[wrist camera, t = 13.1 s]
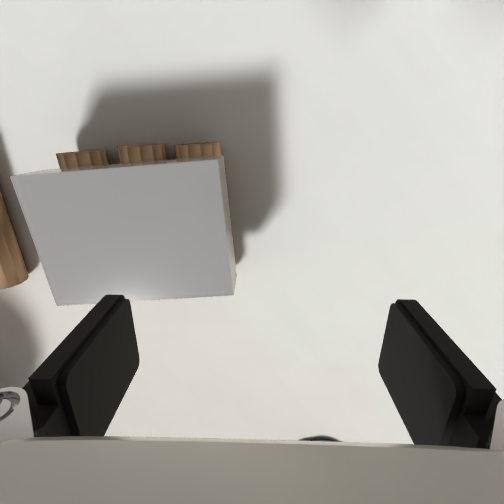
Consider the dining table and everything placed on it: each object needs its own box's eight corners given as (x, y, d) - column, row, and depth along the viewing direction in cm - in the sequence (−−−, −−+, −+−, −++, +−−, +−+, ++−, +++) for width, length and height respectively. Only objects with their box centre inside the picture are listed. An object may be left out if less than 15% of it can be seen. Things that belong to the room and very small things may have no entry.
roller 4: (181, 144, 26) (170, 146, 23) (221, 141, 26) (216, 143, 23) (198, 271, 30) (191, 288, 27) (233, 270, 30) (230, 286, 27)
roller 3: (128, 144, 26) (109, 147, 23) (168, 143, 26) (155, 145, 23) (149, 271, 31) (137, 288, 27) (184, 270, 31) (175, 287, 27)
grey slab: (44, 170, 24) (9, 176, 20) (223, 155, 23) (217, 159, 20) (80, 284, 27) (56, 305, 24) (236, 275, 27) (233, 295, 23)
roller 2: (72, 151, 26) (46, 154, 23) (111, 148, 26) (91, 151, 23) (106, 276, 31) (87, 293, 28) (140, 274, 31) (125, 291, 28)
